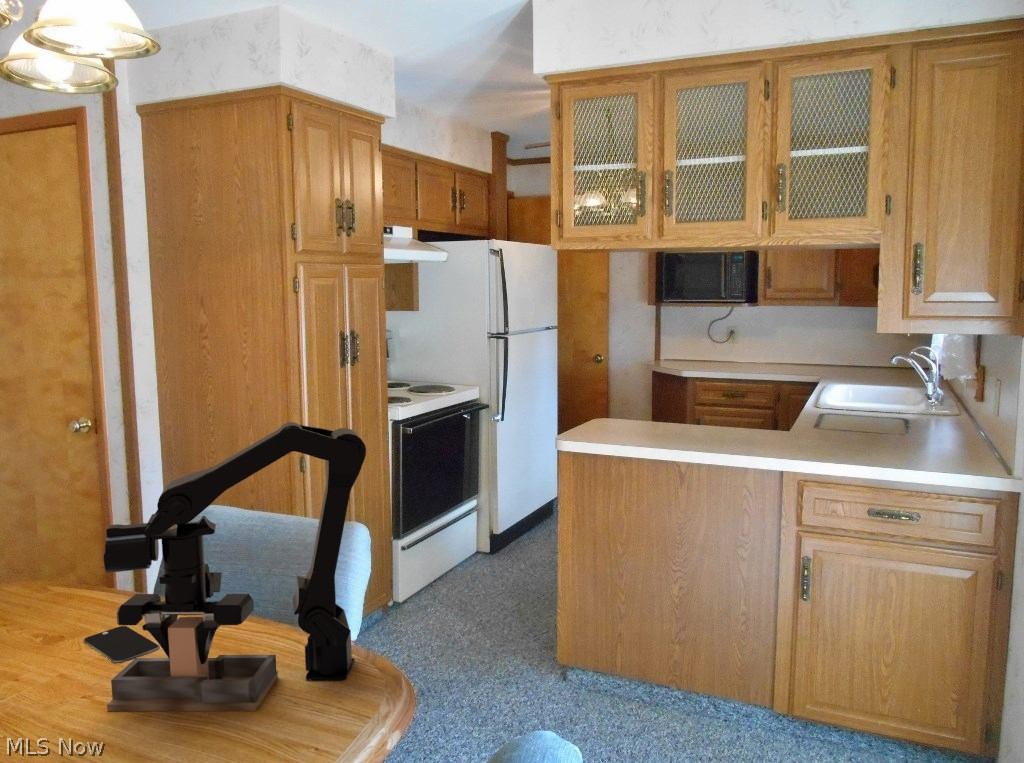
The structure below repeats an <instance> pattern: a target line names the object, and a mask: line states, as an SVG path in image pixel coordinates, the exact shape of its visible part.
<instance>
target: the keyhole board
mask: <svg viewBox="0 0 1024 763" xmlns="http://www.w3.org/2000/svg"><path fill="white" fill-rule="evenodd" d="M276 655H277V654H219V655H218V656H217V657H208V667H209V680H207V677H171V672H170V659H169V658H168V657H138V658H135V659H132V660H131V662H130V663H128V664H127V665H126V666H125V667H124V668H123V669H121V670H120V671H119V672H118V673H117V674H116V675H115V676H114V677H113V678H112V679H111V680H110V683H111V685H110V686H111V697H112V698H111V700H110V701H109V702H107V704H106V707H107V708H106V709H107V710H106V711H107V712H247V711H248V712H253V711H254V712H256V710H257V709H258V707H259V706H260V705H261V703H262V701H263V700H264V698H265V697H266V696H267V694H268V693H269V692H270V690H271V688H272V687H273V686H274V684H275V682H276V681H277V679H278V678H279V674H278V670H277V658H276Z"/></svg>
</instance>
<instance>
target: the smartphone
mask: <svg viewBox="0 0 1024 763" xmlns="http://www.w3.org/2000/svg"><path fill="white" fill-rule="evenodd" d="M83 641H84V642H85V643H84V642H83ZM83 641H82V642H83V643H84V644H86V645H87V644H88V645H89V647H90V648H91V647H92V648H91V649H92V650H94V649H95V650H94V651H95V652H97V651H98V652H99V653H98V652H97V653H98V654H100V653H101V654H102V655H101V654H100V655H101V656H103V655H104V656H105V657H104V656H103V657H104V658H106V657H107V658H108V659H107V658H106V659H107V660H109V659H110V660H111V661H112V663H113V662H114V663H113V664H116V663H119V664H123V662H124V663H126V662H125V661H127V662H129V661H133V660H134V659H135V658H137V657H138V658H141V657H143V656H146V655H149V654H152V653H154V652H156V651H159V650H160V648H161V646H160V645H159V644H158V643H155V642H154V641H152V640H151V639H150V638H148V637H146V636H144V635H143V634H141V633H138V632H137V631H135V630H133V629H132V628H130V627H128V625H119V626H117V627H114V628H111V629H108V630H105V631H102V632H99V633H95V634H92V635H90V636H87V637H85V638H84V639H83ZM88 645H87V646H88ZM140 656H141V657H140ZM110 660H109V661H110ZM111 661H110V662H111Z"/></svg>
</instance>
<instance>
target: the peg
mask: <svg viewBox="0 0 1024 763" xmlns="http://www.w3.org/2000/svg"><path fill="white" fill-rule="evenodd" d="M202 622H203V616H179V617H177V620H176V621H175V622H174V623H173V624H172V625H171V626H170V627H168V639H169V655H170V672H171V677H207V680H209V667H208V658H209V656H208V657H207V660H206V662H205V663H204V664H201V662H200V658H199V651H198V641H197V631H196V627H197V626H198V625H199V624H201V623H202Z"/></svg>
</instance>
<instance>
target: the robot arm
mask: <svg viewBox="0 0 1024 763" xmlns="http://www.w3.org/2000/svg"><path fill="white" fill-rule="evenodd" d="M292 452H296V453H300V454H304V455H307V456H310V457H313V458H317V459H319V460H324V461H325V462H324V463H325V464H324V465H325V487H324V493H323V500H322V504H321V509H320V514H319V520H318V525H317V530H316V537H315V542H314V548H313V553H312V558H311V564H310V567H309V570H308V572H307V574H306V575H305V577H302V576H300V575H297V577H296V589H295V590H296V591H295V593H294V595H293V597H292V607H293V608H292V609H293V614H294V616H296V618H297V623H298V626H299V628H300V629H301V631H303V632H304V633H306V634H308V636H307V643H306V644H305V645H304V658H305V659H304V662H305V670H306V672H307V673H306V675H305V680H307V681H311V680H312V681H317V680H318V681H321V680H323V681H327V680H328V681H333V680H334V681H335V680H336V681H344V680H346V679H347V678H348V676H349V674H350V673H351V670H352V668H353V666H354V664H355V660H356V659H355V658H354V657H353V656H352V655H353V654H352V652H353V651H352V634H351V633H352V632H351V631H352V630H351V628H350V625H349V623H348V622H349V621H348V619H347V616H346V615H347V614H346V612H345V609H344V608H342V606H340V605H339V604H337V602H336V599H337V598H336V577H335V576H336V570H337V564H338V559H339V556H340V549H341V545H342V539H343V533H344V527H345V522H346V517H347V512H348V506H349V500H350V496H351V491H352V489H353V487H354V484H355V483H356V480H357V479H358V477H359V475H360V473H361V470H362V467H363V464H364V462H365V459H366V455H367V448H366V444H365V443H364V441H363V439H362V438H361V437H360V435H359V434H358V433H357V432H356V431H355V430H353V429H350V428H348V427H340V428H337V429H335V430H331V429H327V428H322V427H315V426H309V425H303V424H299V423H297V422H293V421H292V422H291V421H289V422H285V423H283V424H282V425H281V426H280V427H279V428H277V429H276V430H275V431H273V432H271V433H269V434H267V435H266V436H264V437H262V438H260V439H259V440H257V441H255V442H254V443H252V444H250V445H249V446H247V447H245V448H243V449H241V450H240V451H238V452H236V453H235V454H232V455H231V456H230V457H228V458H226V459H224V460H222V461H221V462H219V463H218V464H216V465H214V466H212V467H208V468H205V469H202V470H199V471H195V472H191V473H190V474H187V475H184V476H181V477H179V478H176V479H174V480H171V481H170V482H169V483H168V484H166V486H165V487H164V488H163V491H162V492H161V494H160V496H159V498H158V500H157V505H156V506H157V510H156V511H155V513H153V514H151V516H150V517H149V520H148V521H147V522H143V523H134V524H133V523H132V524H110V525H108V527H107V528H106V530H105V531H106V538H105V545H104V553H103V564H104V570H105V572H106V573H107V574H110V573H111V574H112V573H118V572H119V573H120V572H129V571H139V570H147V569H148V570H149V569H150V568H151V566H152V564H153V562H157V561H158V559H159V555H160V554H159V553H160V552H159V550H160V549H159V547H160V545H159V540H161V551H162V552H161V555H162V568H163V569H162V572H163V574H162V575H161V576H159V577H158V578H159V585H163V588H164V601H161V599H162V597H161V596H160V595H159V594H158V593H136V594H135V593H134V595H133V596H131V597H130V598H129V599H127V600H125V602H123V603H122V604H121V605H120V606H119V607H118V608H117V611H116V624H117V625H118V626H137V625H138V624H139V623H140V622H141V621H142V620H143V618H144V624H143V625H142V627H141V628H142V630H143V631H147V632H148V633H149V634H150V635H151V636H152V637H153V639H154V640H155V641H156V642H157V644H158V645H159V647H160V648H161V649H162V651H163V652H164V654H165V655H166V657H167V658H169V659H170V655H169V639H168V627H170V626H171V625H172V624H173V623H174V622H175V621H176V620H177V619H178V618H179V617H178V616H201V617H203V622H202V623H201V624H199V625H198V626H197V627H196V631H197V641H198V651H199V658H200V662H201V664H204V663H205V662H206V660H207V657H208V658H209V654H210V650H211V647H212V643H213V641H214V637H215V634H216V632H217V630H218V629H219V628H220V627H221V626H239V625H241V624H243V623H244V622H245V621H246V619H247V618H248V617H249V616H250V615H251V614H252V613H253V612H254V610H255V608H254V604H255V603H254V599H253V598H252V596H251V595H250V594H249V593H226V595H224V597H222V598H221V600H215V601H207V600H208V599H211V598H212V597H213V596H214V594H215V593H221V585H222V584H221V583H222V575H223V573H222V571H220V572H218V571H217V572H216V571H215V572H214V571H213V572H212V571H210V567H209V563H205V551H204V536H208V535H214V534H215V533H216V528H217V524H216V523H214V522H212V521H211V520H209V519H208V518H207V516H206V515H202V516H201V517H200V519H199V520H198V521H193V520H194V519H195V518H196V517H198V515H200V514H201V513H202V512H204V511H205V510H206V509H207V508H208V507H210V505H211V504H213V502H215V501H216V500H217V499H218V498H219V497H220V496H221V495H222V494H223V493H225V492H226V491H227V490H229V489H231V488H233V487H234V486H235V485H238V484H239V483H241V482H242V481H244V480H245V479H247V478H250V477H251V476H252V475H254V474H256V473H258V472H259V471H261V470H263V469H265V468H266V467H268V466H269V465H271V464H273V463H274V462H277V461H278V460H280V459H282V458H283V457H285V456H287V455H289V454H290V453H292ZM191 521H192V522H191ZM175 525H177V526H176V527H175V528H172V527H173V526H175Z"/></svg>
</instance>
